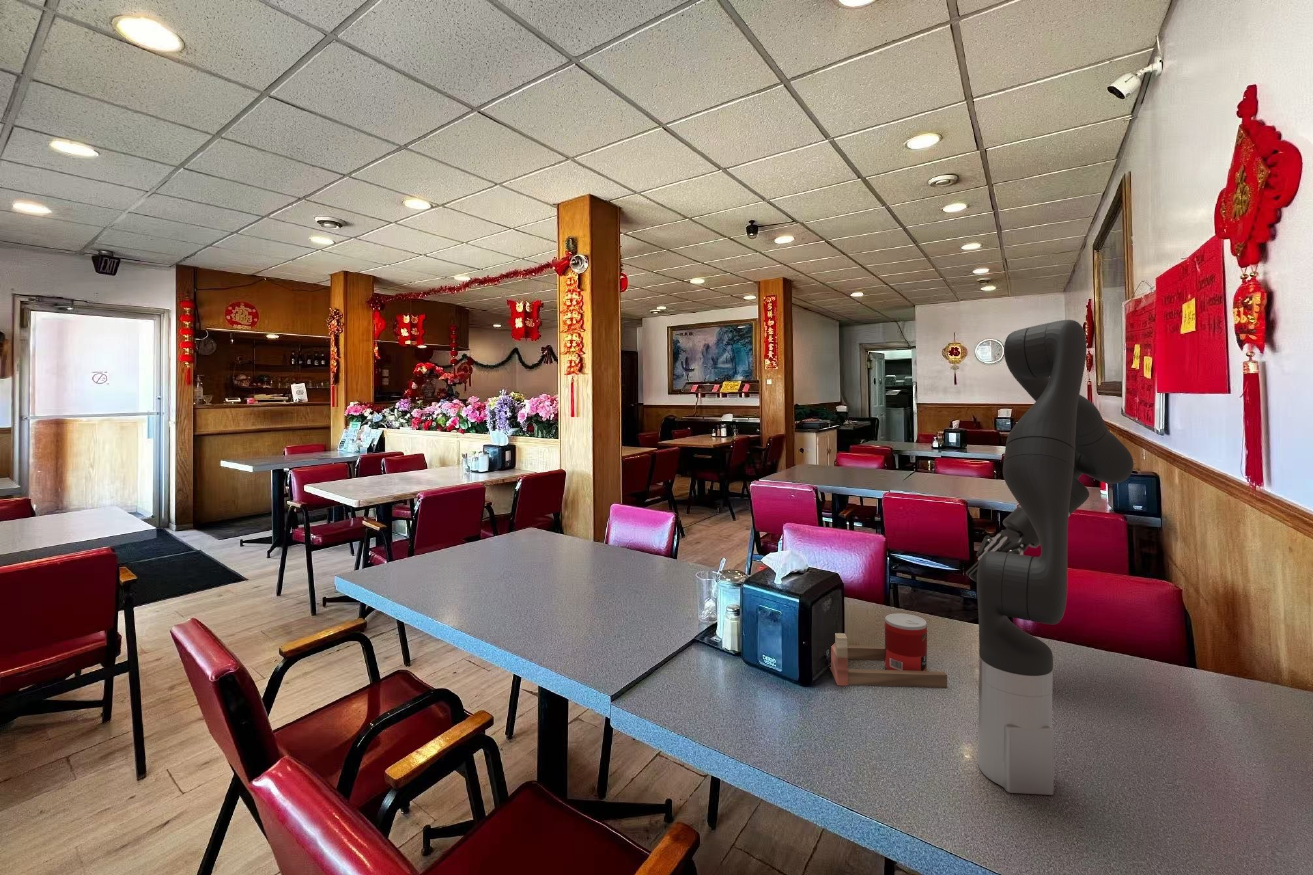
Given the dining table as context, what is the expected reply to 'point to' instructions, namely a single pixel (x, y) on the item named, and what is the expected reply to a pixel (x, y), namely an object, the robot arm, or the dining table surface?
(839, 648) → the rail
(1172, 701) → the dining table surface
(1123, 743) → the dining table surface
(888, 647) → the canned food
